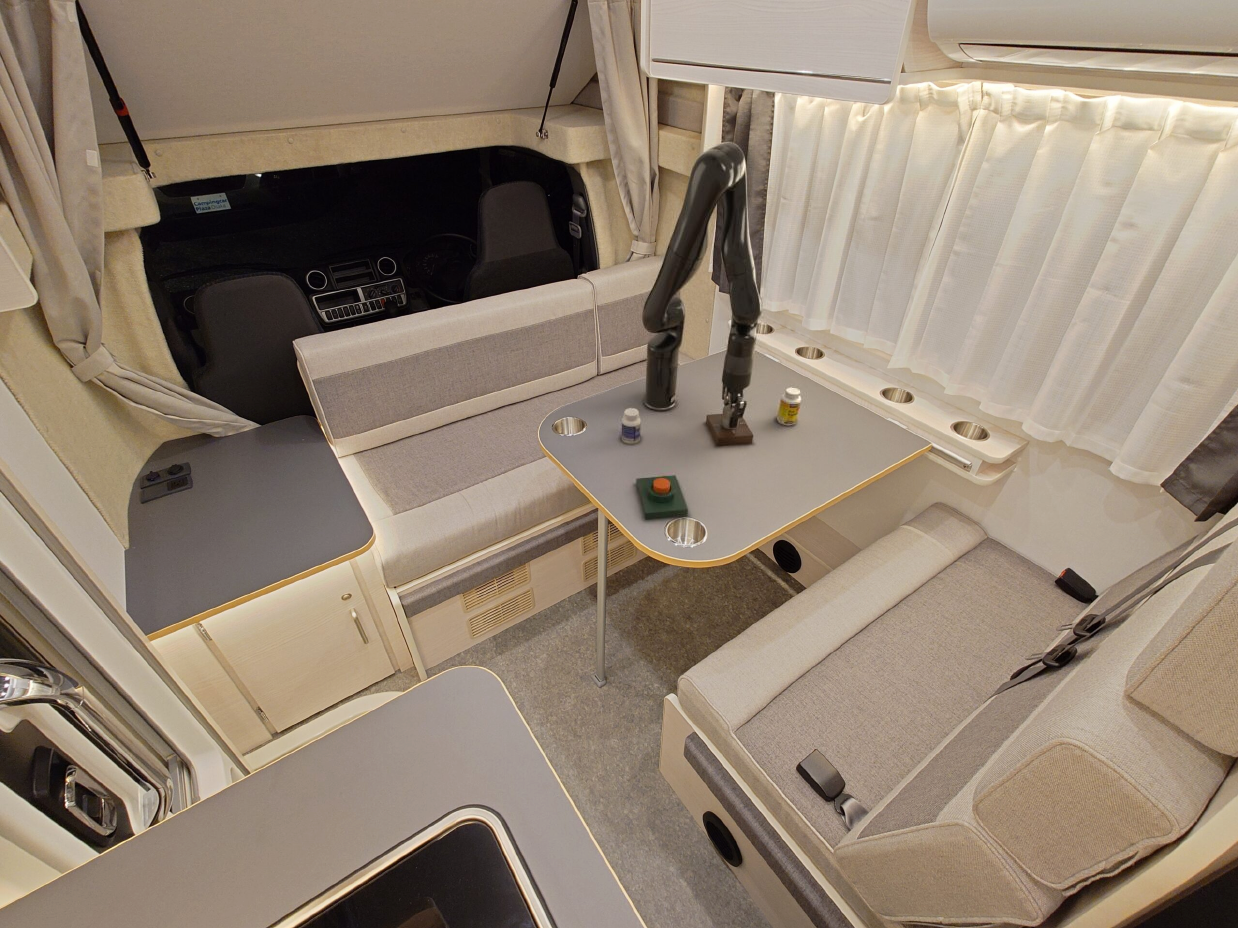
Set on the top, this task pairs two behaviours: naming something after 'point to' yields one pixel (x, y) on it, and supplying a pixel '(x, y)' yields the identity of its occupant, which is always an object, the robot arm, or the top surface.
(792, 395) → the supplement bottle
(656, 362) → the robot arm
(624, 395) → the top surface
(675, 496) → the switch block
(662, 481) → the button
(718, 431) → the dial panel
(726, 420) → the dial
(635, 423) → the pill bottle
